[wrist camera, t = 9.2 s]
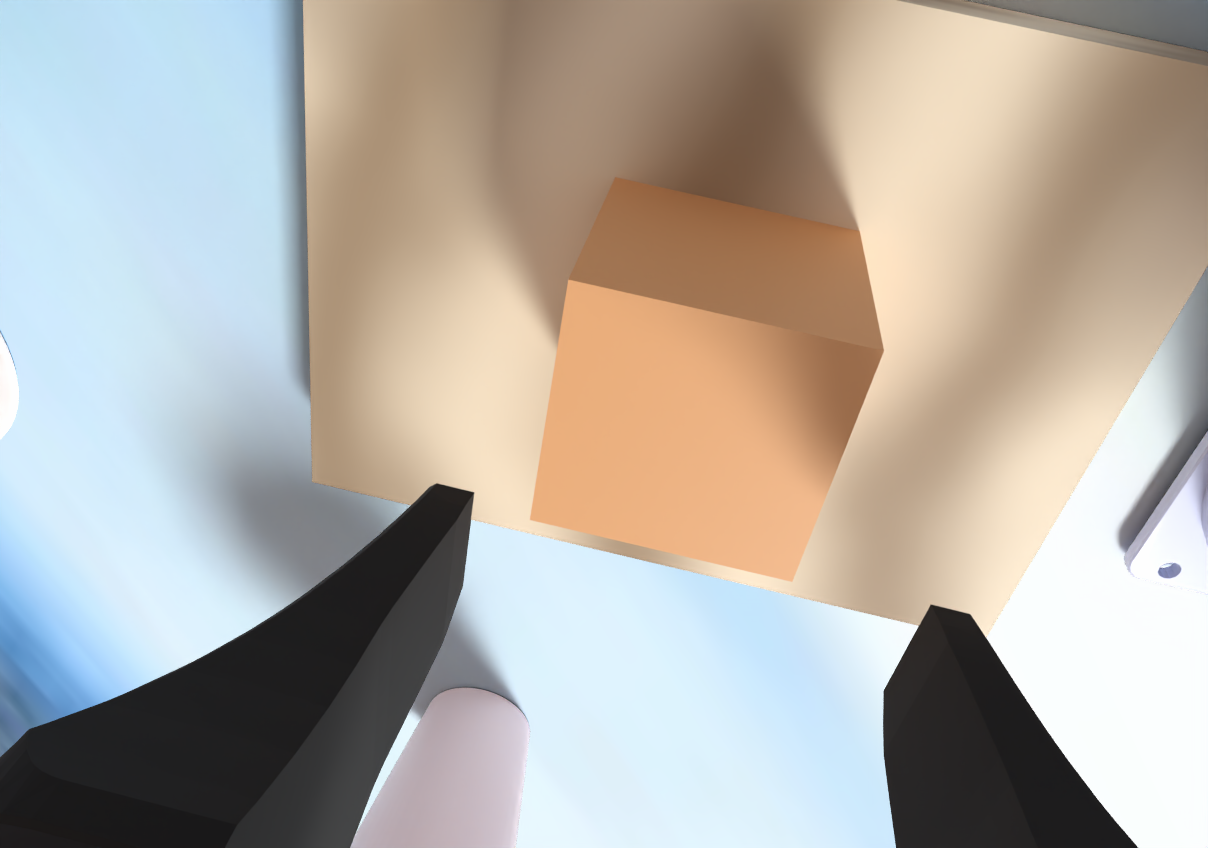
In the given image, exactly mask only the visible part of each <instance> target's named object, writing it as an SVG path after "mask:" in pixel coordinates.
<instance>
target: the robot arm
mask: <svg viewBox="0 0 1208 848" xmlns="http://www.w3.org/2000/svg"><path fill="white" fill-rule="evenodd" d="M473 500H474V492H471V491H467V490H463V489H458V488H454V487H450V486H446V485H442V484H438V483H436V484H434V485H432V486H430V487H429V488H428V489H427V490H426V491H425V492H424V493H423V494H422V495H421V496H420V497H419V498H418V499H417V500H416V501H415V502H414V503H413V504H412V505H411V506H410V507H409V508H408V509H407V510H406V511H405V512H404V513H403V514H402V515H401V516H399V517H398V518H397V519H396V520H395V521H394V522H393V523H392V524H391V525H390V526H389V527H387V528H386V529H385V530H384V531H383V532H382V533H381V534H380V535H379V536H377V537H376V538H375V539H374V540H373V541H371V542H370V543H369V544H368V545H367V546H366V547H364V548H363V549H362V550H361V551H360V552H358V553H357V554H356V555H355V556H354V557H352V558H351V559H350V560H349V561H348V562H346V563H345V564H344V565H343V566H341V567H340V568H339V569H337V570H336V571H335V572H333V573H332V574H331V575H329V576H328V577H327V578H325V579H324V580H323V581H321V582H320V583H319V584H317V585H316V586H315V587H313V588H312V589H311V590H310V591H308V592H307V593H305V594H304V595H303V596H301V597H300V598H298V599H297V600H295V601H294V602H293V603H291V604H290V605H288V606H287V607H285V608H284V609H282V610H281V611H279V612H278V613H276V614H275V615H273V616H271V617H270V618H268V619H267V620H265V621H264V622H262V623H260V624H259V625H257V626H256V627H254V628H252V629H251V630H249V631H247V632H246V633H244V634H242V635H240V636H239V637H237V638H235V639H233V640H232V641H230V642H228V643H226V644H224V645H223V646H221V647H219V648H217V649H216V650H214V651H212V652H210V653H208V654H207V655H205V656H203V657H201V658H199V659H197V660H195V661H193V662H191V663H189V664H187V665H185V666H183V667H181V668H179V669H177V670H175V671H173V672H170V673H168V674H166V675H164V676H162V677H160V678H157V679H155V680H153V681H151V682H149V683H147V684H144V685H142V686H140V687H138V688H136V689H134V690H132V691H129V692H127V693H125V694H122V695H120V696H118V697H115V698H113V699H111V700H108V701H106V702H103V703H100V704H98V705H95V706H92V707H90V708H87V709H84V710H82V711H79V712H76V713H73V714H71V715H68V716H65V717H63V718H60V719H57V720H54V721H52V722H49V723H46V724H43V725H40V726H37V727H34V728H31V729H29V730H28V731H27V732H26V733H25V734H24V735H23V736H22V737H21V738H20V739H19V740H18V741H17V742H16V743H15V744H14V745H13V746H12V747H11V748H10V749H9V750H8V751H6V752H5V753H4V754H3V755H2V756H1V757H0V848H350V847H351V844H352V842H353V839H354V836H355V834H356V831H357V828H358V826H359V823H360V820H361V818H362V815H363V812H364V810H365V807H366V805H367V802H368V799H369V797H370V794H371V791H372V789H373V786H374V784H375V782H376V780H377V777H378V775H379V773H380V771H381V768H382V766H383V764H384V762H385V760H386V758H387V756H388V754H389V751H390V749H391V747H392V745H393V743H394V741H395V739H396V737H397V735H398V733H399V731H400V729H401V727H402V725H403V723H404V721H405V719H406V717H407V715H408V713H409V711H410V709H411V707H412V705H413V703H414V701H415V699H416V697H417V695H418V693H419V691H420V689H421V687H422V685H423V682H424V680H425V678H426V676H427V674H428V672H429V670H430V668H431V666H432V664H433V662H434V660H435V658H436V656H437V654H438V652H439V649H440V647H441V645H442V643H443V641H444V638H445V635H446V632H447V630H448V627H449V624H450V621H451V618H452V616H453V613H454V610H455V607H456V604H457V601H458V598H459V595H460V593H461V590H462V587H463V580H464V572H465V564H466V556H467V548H468V540H469V532H470V524H471V516H472V508H473ZM1124 561H1125V565H1126V567H1127V569H1128V571H1129V572H1130V574H1131V575H1132V576H1134V577H1136V578H1139V579H1143V580H1147V581H1151V582H1155V583H1160V584H1164V585H1168V586H1173V587H1177V588H1181V589H1185V590H1190V591H1194V592H1198V593H1203V594H1207V595H1208V431H1207V433H1206V434H1205V436H1204V437H1203V439H1202V440H1201V441H1200V443H1199V444H1198V446H1197V447H1196V449H1195V450H1194V452H1193V453H1192V455H1191V456H1190V458H1189V459H1188V461H1187V462H1186V464H1185V465H1184V467H1183V468H1182V470H1181V471H1180V473H1179V474H1178V476H1177V477H1176V479H1175V480H1174V482H1173V483H1172V485H1171V486H1170V488H1169V489H1168V491H1167V492H1166V494H1165V495H1164V497H1163V498H1162V500H1161V501H1160V503H1159V504H1158V506H1157V507H1156V509H1155V510H1154V511H1153V513H1152V514H1151V516H1150V517H1149V519H1148V520H1147V522H1146V523H1145V525H1144V526H1143V528H1142V529H1141V531H1140V532H1139V534H1138V535H1137V537H1136V538H1135V540H1134V541H1133V543H1132V544H1131V546H1130V547H1129V549H1128V550H1127V552H1126V554H1125V556H1124ZM1167 563H1173V564H1172V565H1171V566H1169V567H1166V568H1160V567H1161V566H1162V565H1164V564H1167ZM883 738H884V760H885V768H886V776H887V784H888V791H889V799H890V807H891V814H892V821H893V828H894V835H895V843H896V848H1138V847H1137V846H1136V845H1135V843H1134V842H1133V841H1132V840H1131V839H1130V838H1129V837H1128V835H1127V834H1126V833H1125V832H1124V831H1123V830H1122V828H1121V827H1120V826H1119V825H1118V824H1117V823H1116V821H1115V820H1114V819H1113V818H1112V817H1111V815H1110V814H1109V813H1108V812H1107V810H1106V809H1105V808H1104V807H1103V805H1102V804H1101V803H1100V802H1099V800H1098V799H1097V798H1096V797H1095V795H1094V794H1093V793H1092V791H1091V790H1090V789H1089V787H1088V786H1087V785H1086V783H1085V782H1084V781H1083V780H1082V778H1081V777H1080V776H1079V774H1078V773H1077V772H1076V770H1075V769H1074V768H1073V766H1072V765H1071V764H1070V762H1069V761H1068V760H1067V758H1066V757H1065V755H1064V754H1063V753H1062V751H1061V750H1060V749H1059V747H1058V746H1057V744H1056V743H1055V742H1054V740H1053V739H1052V737H1051V736H1050V734H1049V733H1048V732H1047V730H1046V729H1045V727H1044V726H1043V724H1042V723H1041V721H1040V720H1039V718H1038V717H1037V715H1036V714H1035V712H1034V711H1033V710H1032V708H1031V707H1030V705H1029V704H1028V702H1027V701H1026V699H1025V697H1024V696H1023V694H1022V693H1021V691H1020V690H1019V688H1018V687H1017V685H1016V684H1015V682H1014V681H1013V679H1012V678H1011V676H1010V674H1009V673H1008V671H1007V670H1006V668H1005V667H1004V665H1003V664H1002V662H1001V660H1000V659H999V657H998V656H997V654H996V653H995V651H994V649H993V648H992V646H991V645H990V643H989V642H988V640H987V638H986V637H985V635H984V634H983V632H982V631H981V629H980V628H979V626H978V625H977V623H976V622H975V620H974V619H973V617H972V616H971V614H968V613H964V612H960V611H956V610H952V609H948V608H944V607H940V606H936V605H932V604H931V605H930V607H929V609H928V610H927V612H926V614H925V616H924V618H923V620H922V621H921V623H920V625H919V627H918V629H917V631H916V632H915V634H914V636H913V638H912V640H911V642H910V643H909V645H908V647H907V649H906V651H905V653H904V654H903V656H902V658H901V660H900V662H899V664H898V666H897V667H896V669H895V671H894V673H893V675H892V677H891V678H890V680H889V682H888V684H887V686H886V688H885V689H884V710H883Z"/></svg>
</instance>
